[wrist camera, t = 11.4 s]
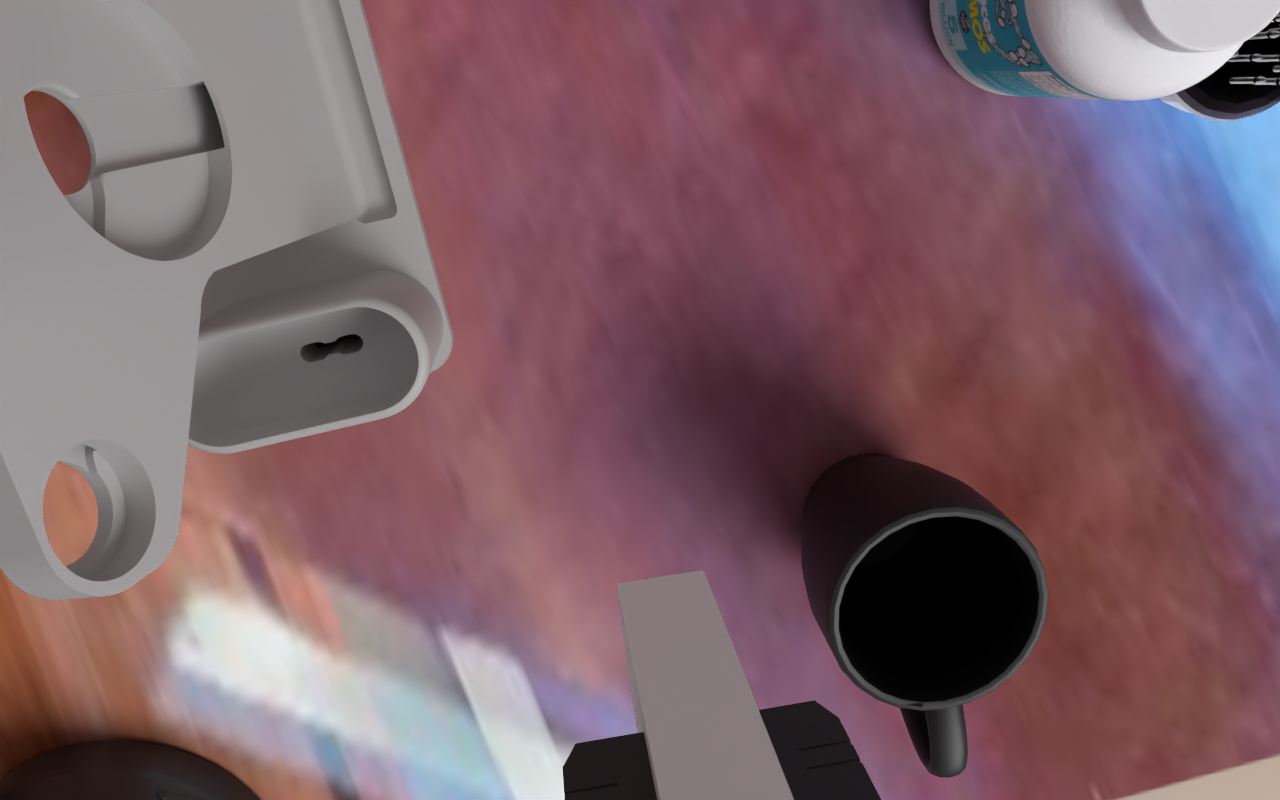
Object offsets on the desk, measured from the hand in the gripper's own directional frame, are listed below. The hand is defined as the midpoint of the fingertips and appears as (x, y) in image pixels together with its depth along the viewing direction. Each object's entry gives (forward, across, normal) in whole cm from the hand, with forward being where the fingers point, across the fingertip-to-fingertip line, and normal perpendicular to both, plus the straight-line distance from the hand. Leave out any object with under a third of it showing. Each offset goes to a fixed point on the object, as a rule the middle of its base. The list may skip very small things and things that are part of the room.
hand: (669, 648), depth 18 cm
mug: (+27, +11, -12) cm, 32 cm away
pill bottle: (+27, +19, +11) cm, 34 cm away
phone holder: (+27, -11, +7) cm, 30 cm away
